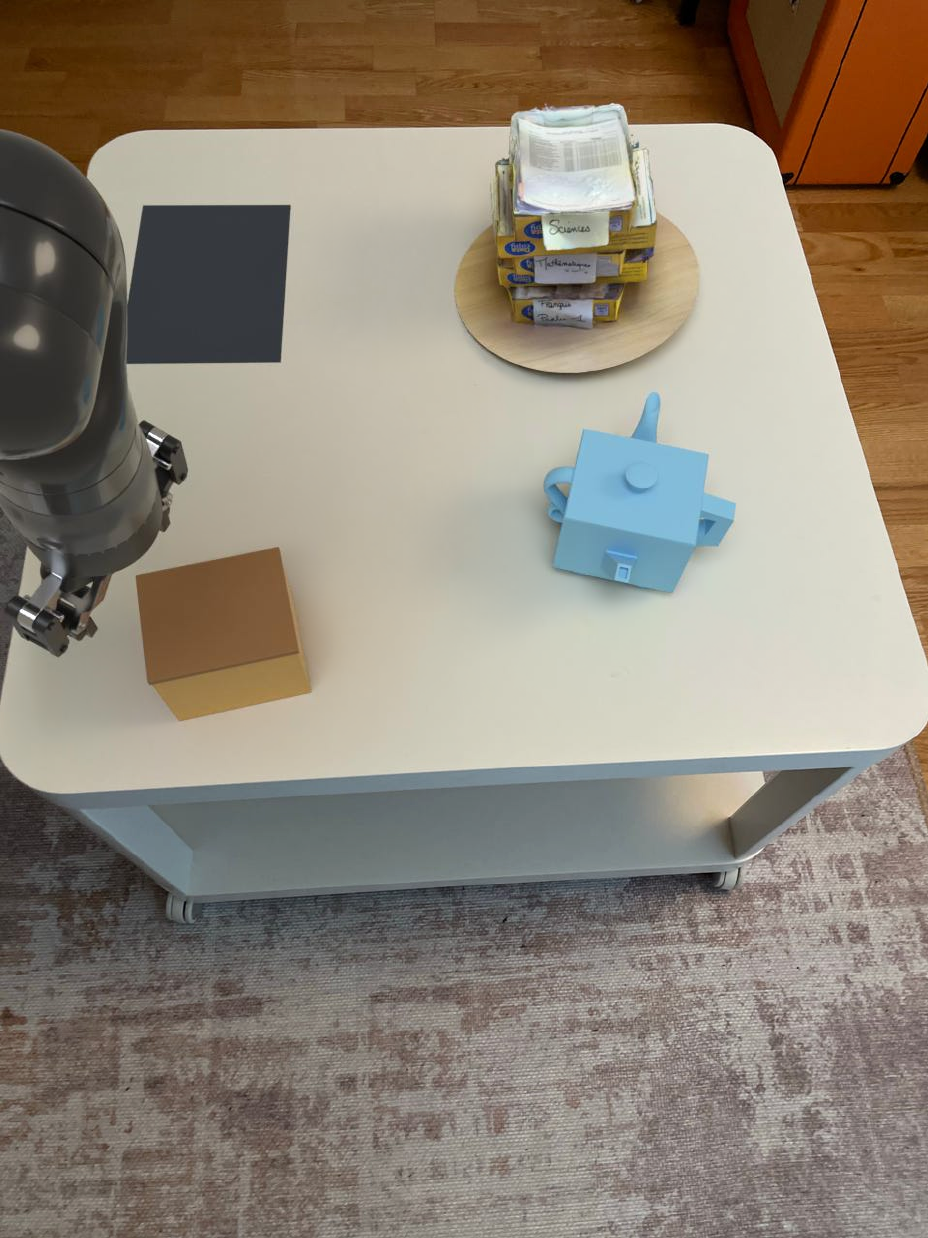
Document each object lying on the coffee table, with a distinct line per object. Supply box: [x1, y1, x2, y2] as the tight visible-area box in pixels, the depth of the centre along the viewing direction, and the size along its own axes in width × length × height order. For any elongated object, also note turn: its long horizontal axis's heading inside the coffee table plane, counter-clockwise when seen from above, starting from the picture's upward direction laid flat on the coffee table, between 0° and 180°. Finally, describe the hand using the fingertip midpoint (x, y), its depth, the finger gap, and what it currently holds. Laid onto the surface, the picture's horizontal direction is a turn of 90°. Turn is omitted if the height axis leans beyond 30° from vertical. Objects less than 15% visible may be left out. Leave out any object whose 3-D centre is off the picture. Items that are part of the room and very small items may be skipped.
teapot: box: [543, 391, 737, 594], centre depth 81 cm, size 16×18×11 cm
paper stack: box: [454, 102, 701, 374], centre depth 91 cm, size 25×25×17 cm
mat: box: [126, 204, 292, 365], centre depth 98 cm, size 16×22×1 cm
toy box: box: [135, 546, 312, 722], centre depth 76 cm, size 9×11×9 cm
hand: (118, 573), depth 63 cm, fingers open, 8 cm apart
